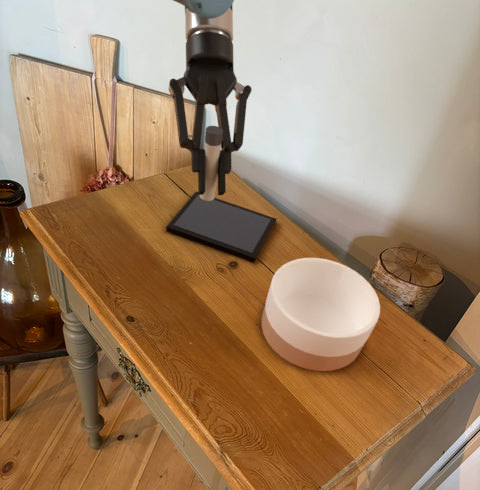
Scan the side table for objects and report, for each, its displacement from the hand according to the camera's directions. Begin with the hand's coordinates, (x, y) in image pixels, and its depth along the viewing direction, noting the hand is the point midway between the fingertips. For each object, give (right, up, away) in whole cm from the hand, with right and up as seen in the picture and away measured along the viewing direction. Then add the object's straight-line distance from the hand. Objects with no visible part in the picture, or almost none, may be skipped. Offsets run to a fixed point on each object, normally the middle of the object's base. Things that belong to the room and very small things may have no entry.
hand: (211, 192), depth 75 cm
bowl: (+16, -22, +2) cm, 28 cm away
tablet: (+1, -2, +17) cm, 17 cm away
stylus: (-1, +1, +5) cm, 5 cm away
